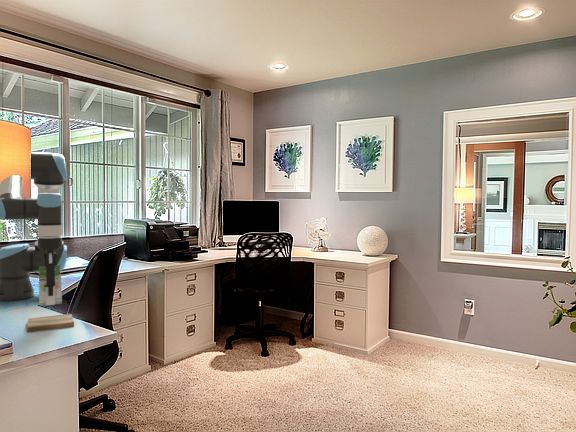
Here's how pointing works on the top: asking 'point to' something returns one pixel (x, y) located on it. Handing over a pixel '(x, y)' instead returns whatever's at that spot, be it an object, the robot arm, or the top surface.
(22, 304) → the top surface
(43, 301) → the ink box
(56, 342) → the top surface
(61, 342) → the top surface
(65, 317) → the board
